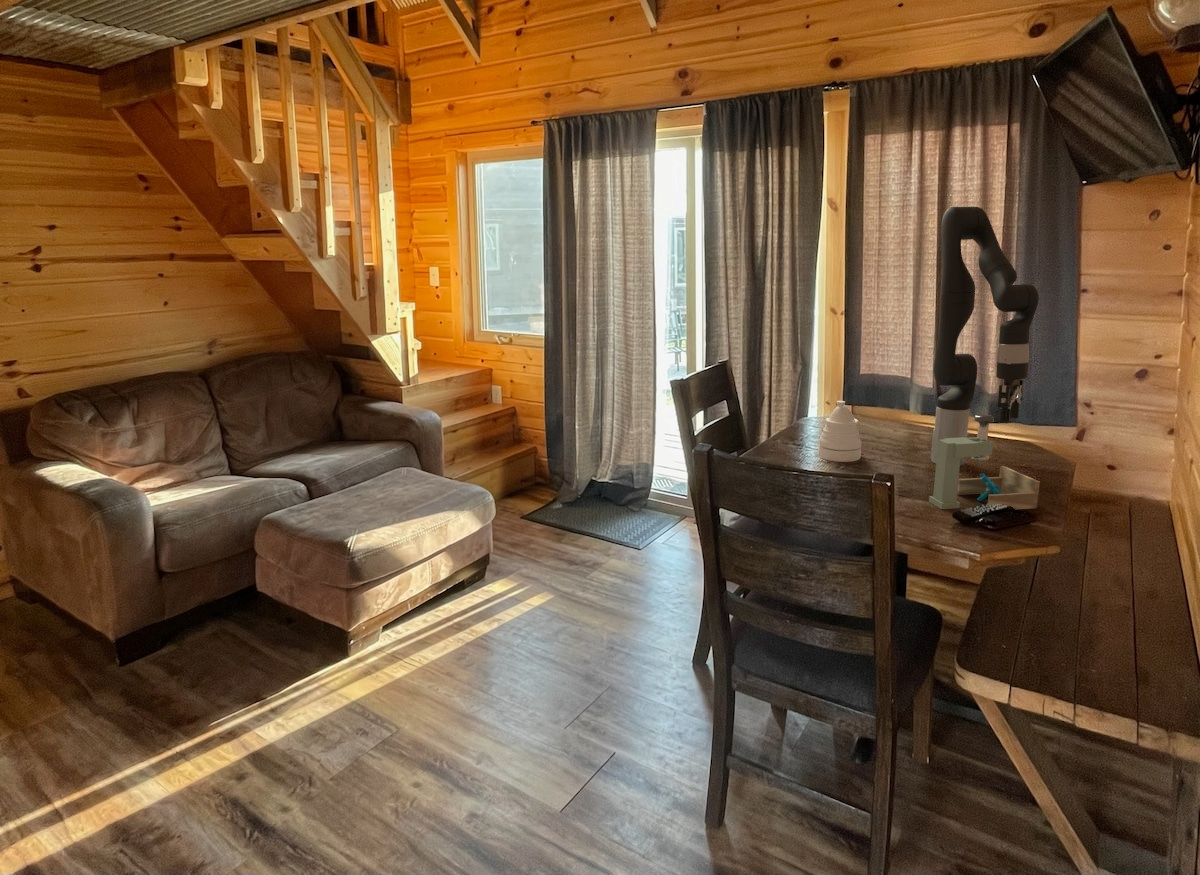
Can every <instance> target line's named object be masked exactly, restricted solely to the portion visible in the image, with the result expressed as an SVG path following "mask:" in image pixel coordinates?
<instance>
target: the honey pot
mask: <svg viewBox="0 0 1200 875" xmlns="http://www.w3.org/2000/svg"><path fill="white" fill-rule="evenodd" d="M845 404H846V401H844V400H837V401H836V405H837V406H836V407H835V408H834V409H833V411H832V412H831V413H830V416H829V417H826V418H825V419H824V420H825V426H824V427H823V428H822V432H821V434H820V437H819V440H818V441H819V442H818V451H817V452H818V453H817V456H818V458H820V459H823V460H826V461H831V462H839V463H840V462H843V463H848V462H855V461H859V460H860V459H861V456H862V439H861V436H860V430H859V429H858V426H857V425H858V424H859V423H860V422H859V420H858V419H857V418H855V417H854V415H853V413H852V411H851V409H850V408H849V407H848V406H847V405H845Z"/></svg>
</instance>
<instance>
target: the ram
mask: <svg viewBox="0 0 1200 875" xmlns="http://www.w3.org/2000/svg"><path fill="white" fill-rule="evenodd" d="M974 421H975V422H977V423H978V425H977V434H976V437H977V442H979V441H988V435H989V429H990V428H989V427H990V424H991V423H994V421H995V416H994V415H992V414H991V415H990V414H984V413H982V414H981V413H980V414H975V415H974ZM989 458H990V455H983V456H977V457H970V459H971V460H974V461H978V462H988V461H989Z"/></svg>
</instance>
